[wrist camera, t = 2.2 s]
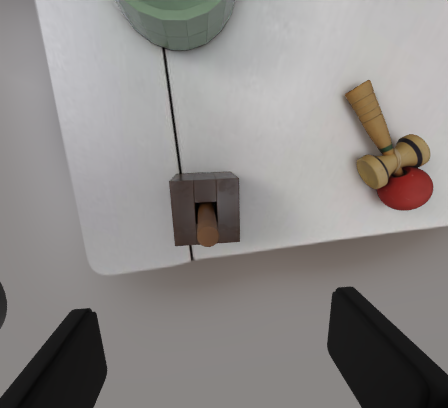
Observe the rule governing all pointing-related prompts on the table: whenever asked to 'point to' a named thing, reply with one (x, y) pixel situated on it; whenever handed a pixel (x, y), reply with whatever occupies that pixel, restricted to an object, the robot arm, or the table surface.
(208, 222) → the stick
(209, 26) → the mixing bowl
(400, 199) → the kendama
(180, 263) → the table surface
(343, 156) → the table surface
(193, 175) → the holder
